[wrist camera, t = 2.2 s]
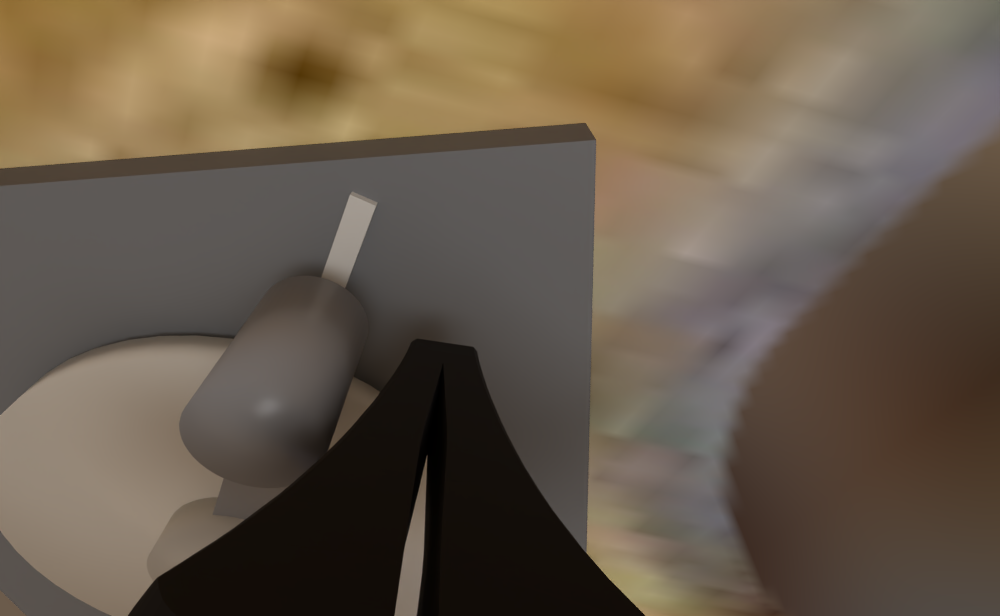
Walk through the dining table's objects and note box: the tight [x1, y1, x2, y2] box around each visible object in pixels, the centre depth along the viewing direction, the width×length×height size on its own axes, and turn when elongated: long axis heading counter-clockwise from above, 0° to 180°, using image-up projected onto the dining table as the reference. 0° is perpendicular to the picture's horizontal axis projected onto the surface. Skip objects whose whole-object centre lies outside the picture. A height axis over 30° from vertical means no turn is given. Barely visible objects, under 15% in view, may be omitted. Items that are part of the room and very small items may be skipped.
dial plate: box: [0, 123, 596, 616], centre depth 18 cm, size 22×22×2 cm
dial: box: [0, 276, 427, 616], centre depth 14 cm, size 17×14×5 cm
